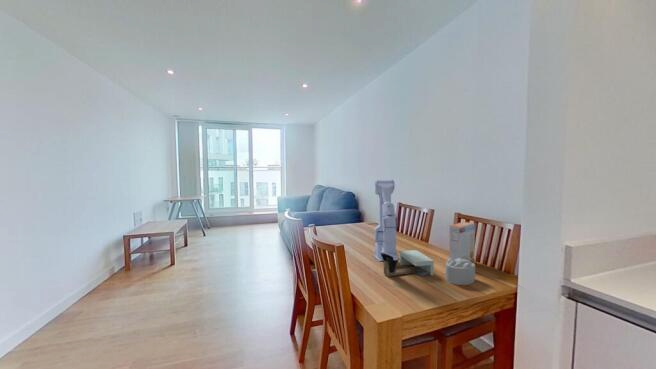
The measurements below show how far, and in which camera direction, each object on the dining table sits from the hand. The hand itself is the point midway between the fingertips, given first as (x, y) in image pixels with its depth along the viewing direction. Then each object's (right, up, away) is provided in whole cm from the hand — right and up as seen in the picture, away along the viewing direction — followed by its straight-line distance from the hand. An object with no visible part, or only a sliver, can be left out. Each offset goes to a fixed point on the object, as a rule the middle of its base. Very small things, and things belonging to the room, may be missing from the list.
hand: (389, 270), depth 121 cm
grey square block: (+15, -2, +2) cm, 16 cm away
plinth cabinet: (+15, -2, +7) cm, 16 cm away
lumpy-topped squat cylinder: (+30, -3, -5) cm, 30 cm away
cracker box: (+41, -2, +15) cm, 44 cm away
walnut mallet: (+7, -2, +3) cm, 8 cm away
